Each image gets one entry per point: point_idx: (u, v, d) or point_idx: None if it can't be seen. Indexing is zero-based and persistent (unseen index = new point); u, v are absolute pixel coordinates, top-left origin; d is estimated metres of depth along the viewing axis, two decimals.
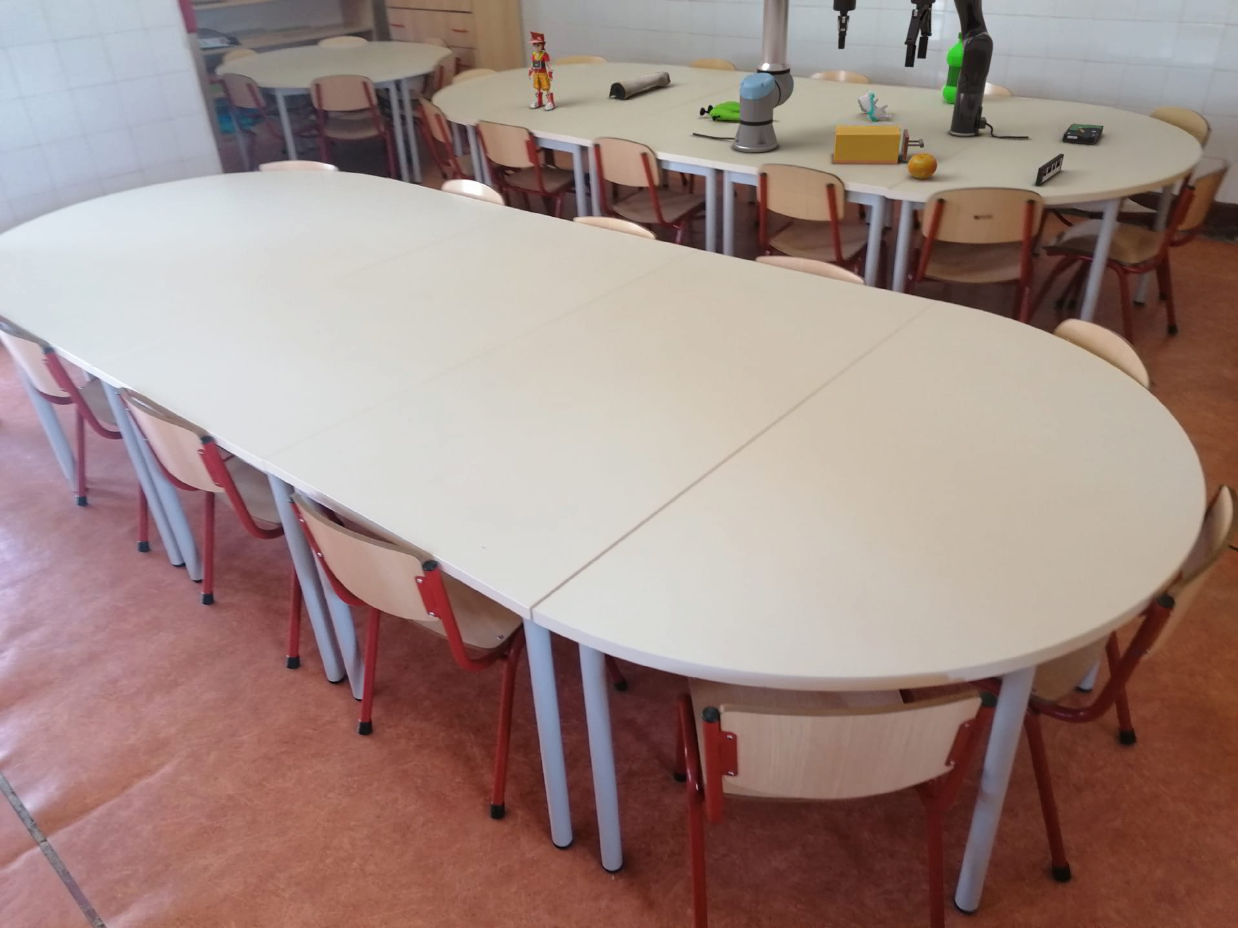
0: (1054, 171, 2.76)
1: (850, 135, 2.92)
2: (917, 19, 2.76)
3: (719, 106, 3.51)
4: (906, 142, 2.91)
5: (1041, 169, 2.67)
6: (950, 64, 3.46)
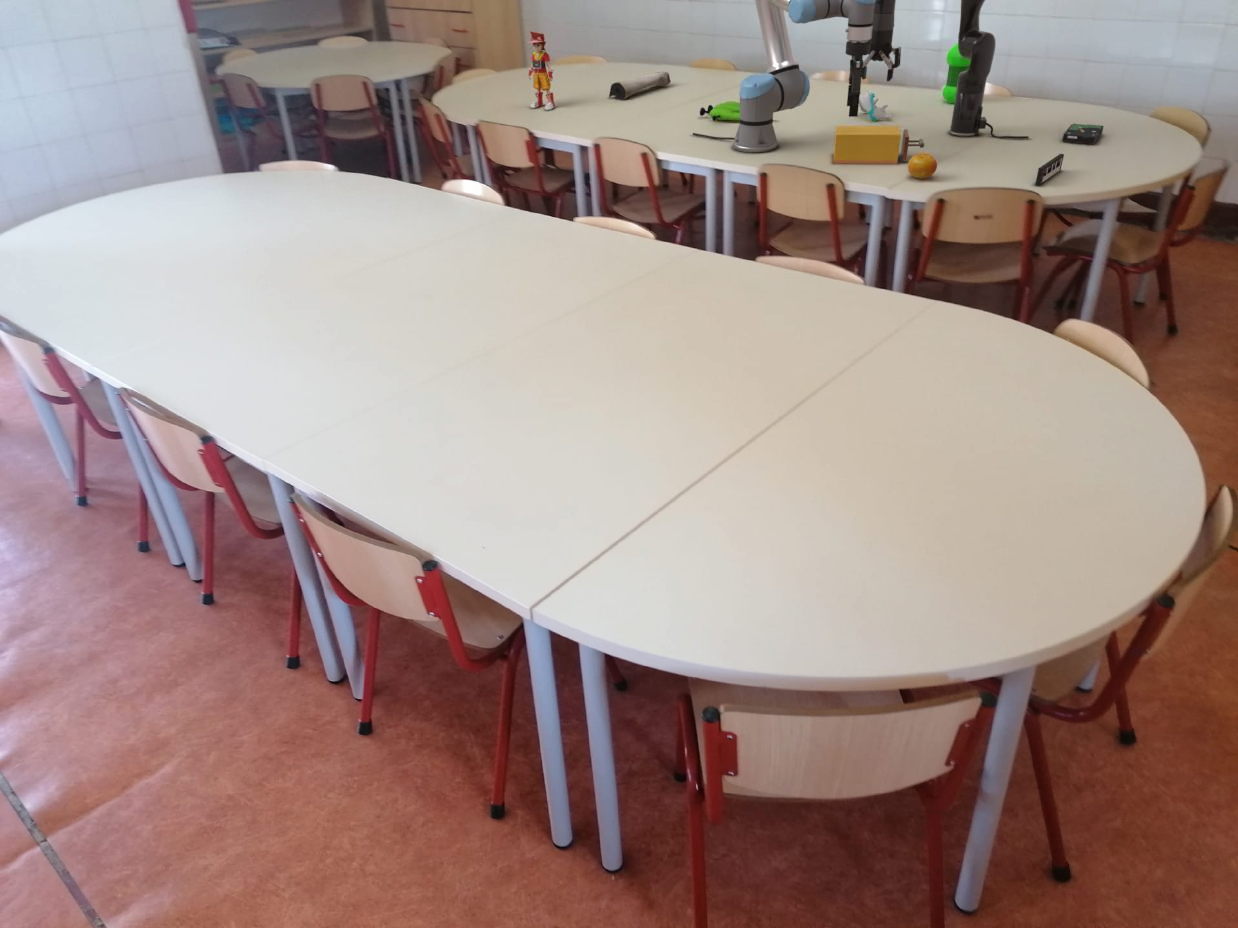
0: (1054, 171, 2.76)
1: (850, 135, 2.92)
2: None
3: (719, 106, 3.51)
4: (906, 142, 2.91)
5: (1041, 169, 2.67)
6: (950, 64, 3.46)
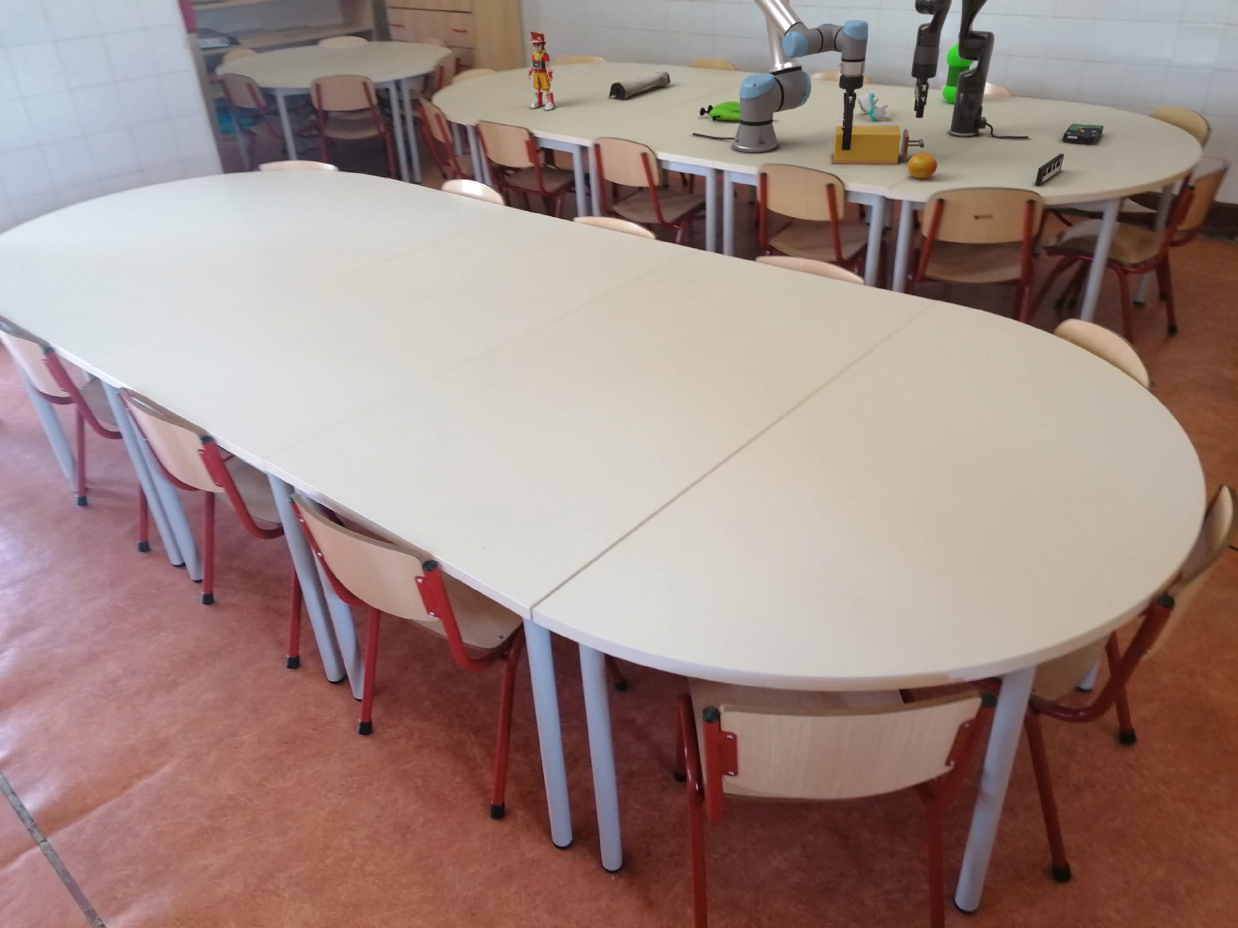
0: (1054, 171, 2.76)
1: None
2: None
3: (719, 106, 3.51)
4: (906, 142, 2.91)
5: (1041, 169, 2.67)
6: (950, 64, 3.46)
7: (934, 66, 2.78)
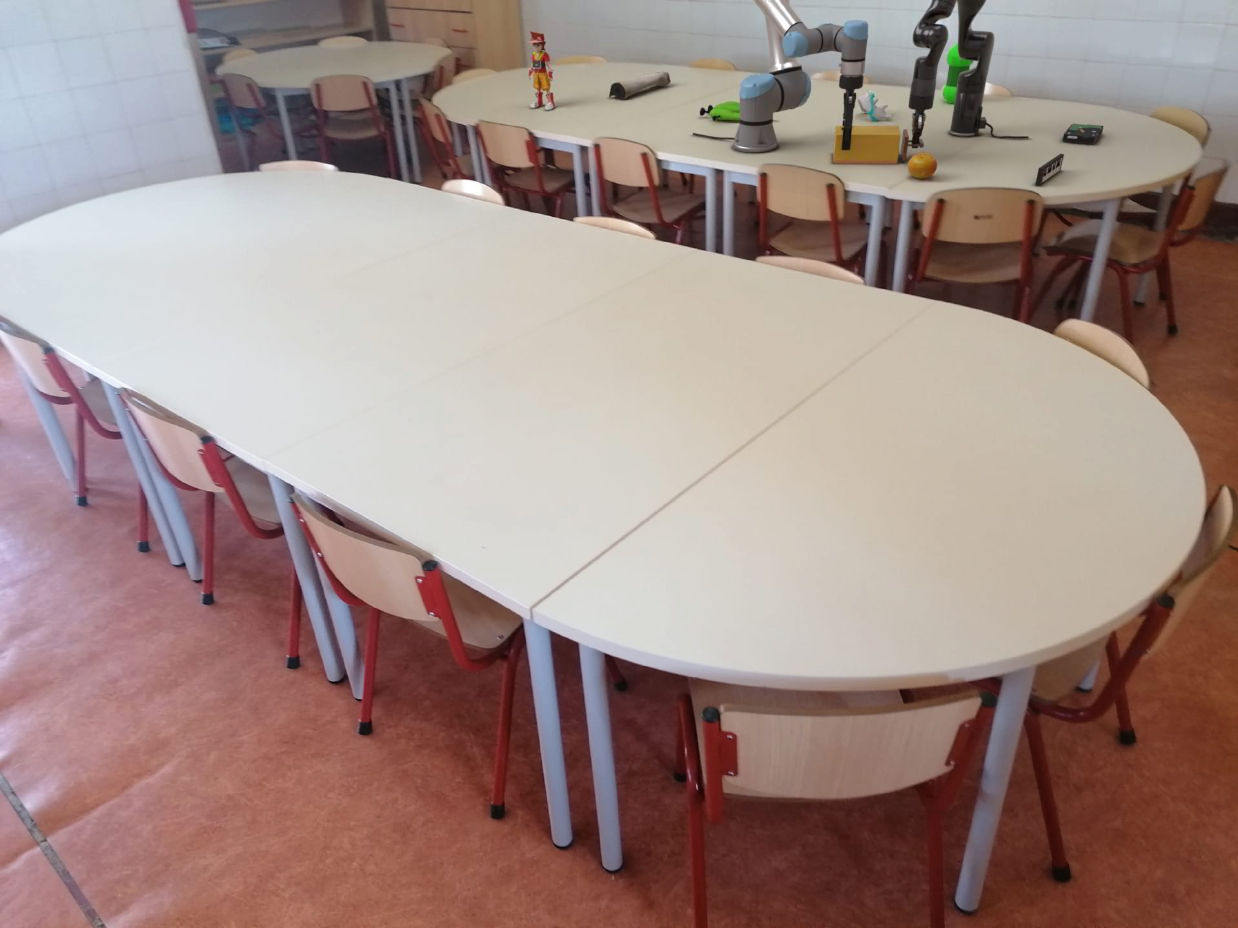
0: (1054, 171, 2.76)
1: None
2: None
3: (719, 106, 3.51)
4: (906, 142, 2.91)
5: (1041, 169, 2.67)
6: (950, 64, 3.46)
7: (931, 98, 2.84)
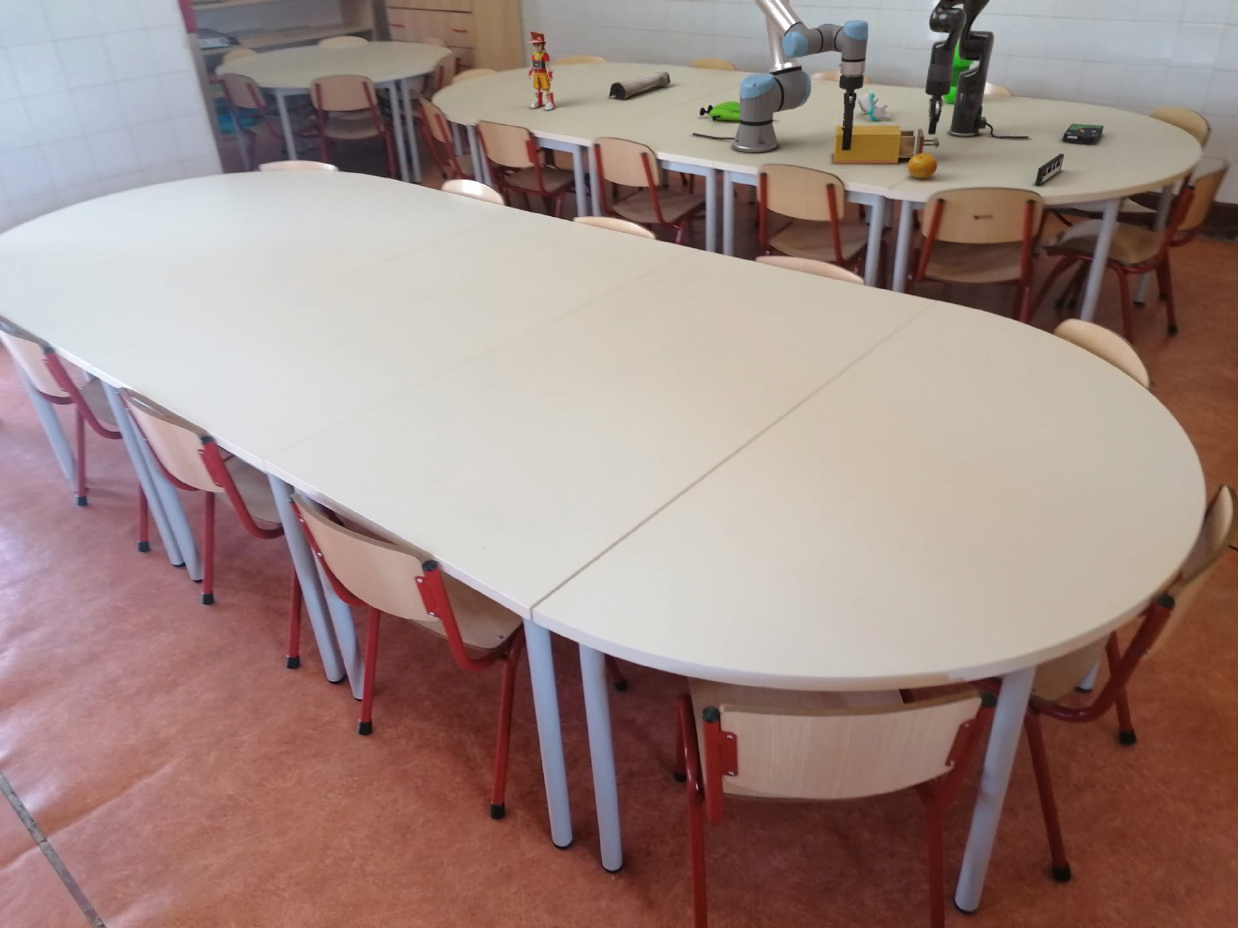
0: (1054, 171, 2.76)
1: None
2: None
3: (719, 106, 3.51)
4: (921, 141, 2.90)
5: (1041, 169, 2.67)
6: None
7: (948, 83, 2.80)
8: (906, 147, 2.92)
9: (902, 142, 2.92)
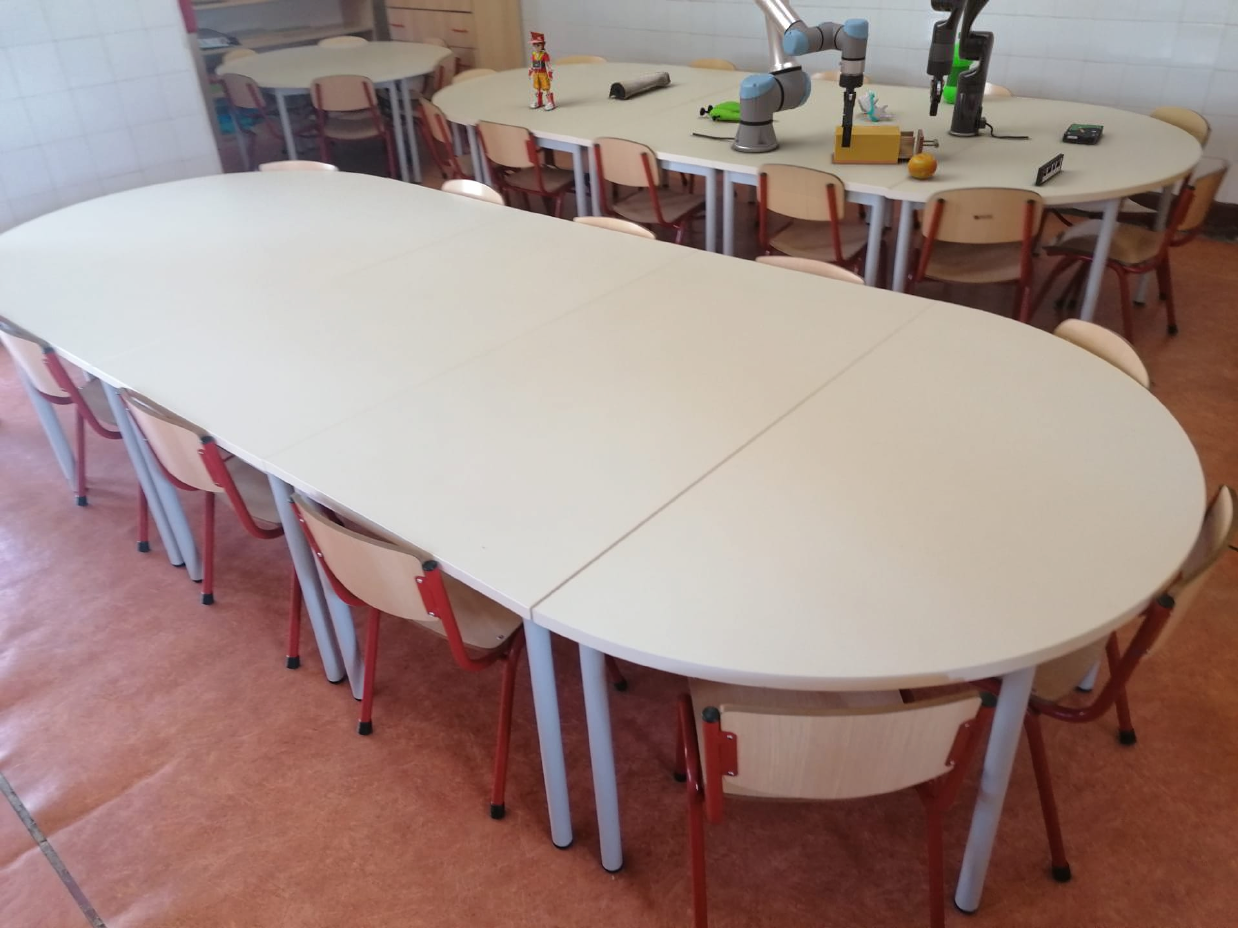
0: (1054, 171, 2.76)
1: None
2: None
3: (719, 106, 3.51)
4: (921, 142, 2.90)
5: (1041, 169, 2.67)
6: None
7: (950, 63, 2.77)
8: (906, 147, 2.92)
9: (902, 142, 2.92)
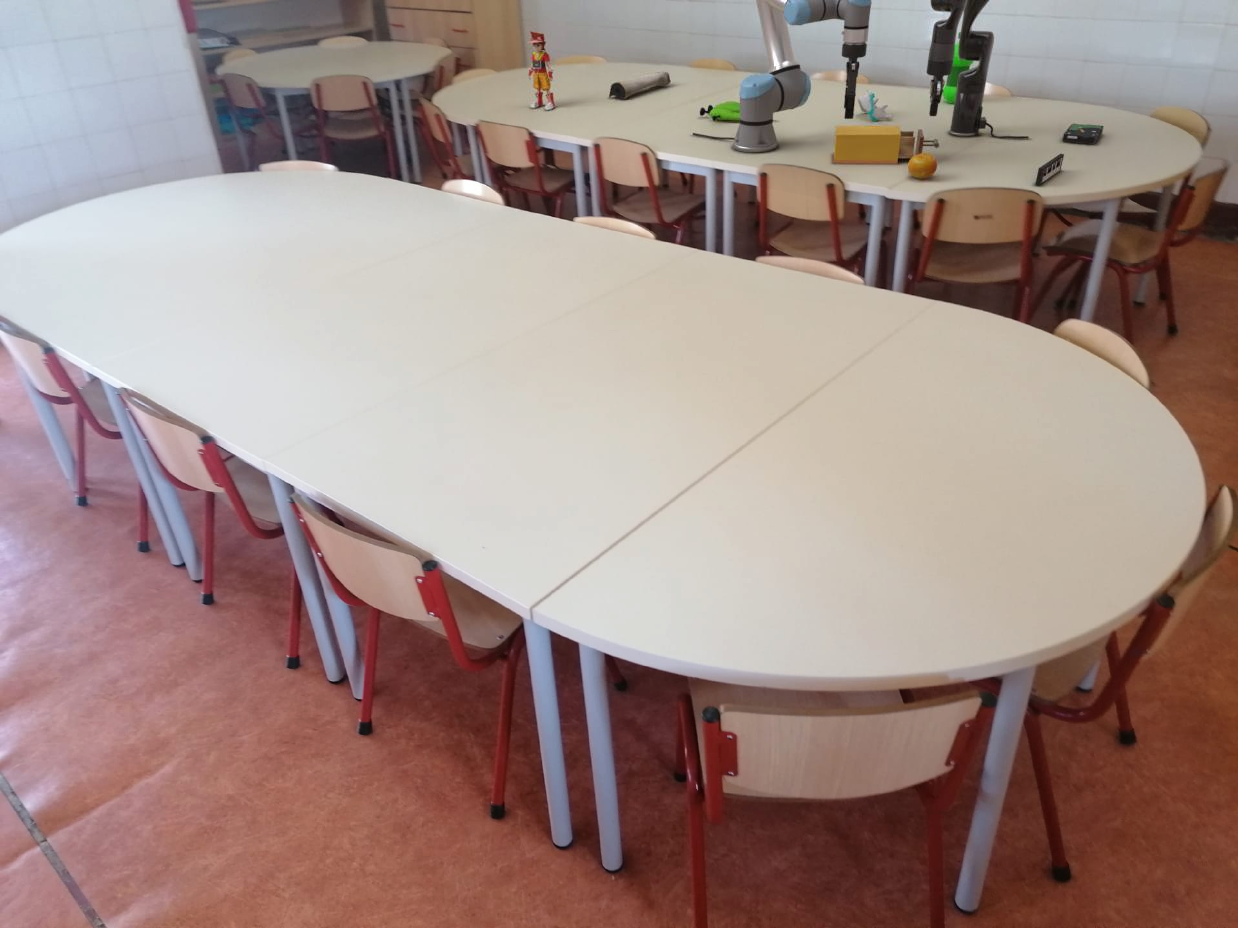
0: (1054, 171, 2.76)
1: (850, 135, 2.92)
2: None
3: (719, 106, 3.51)
4: (921, 142, 2.90)
5: (1041, 169, 2.67)
6: None
7: (950, 63, 2.77)
8: (906, 147, 2.92)
9: (902, 142, 2.92)
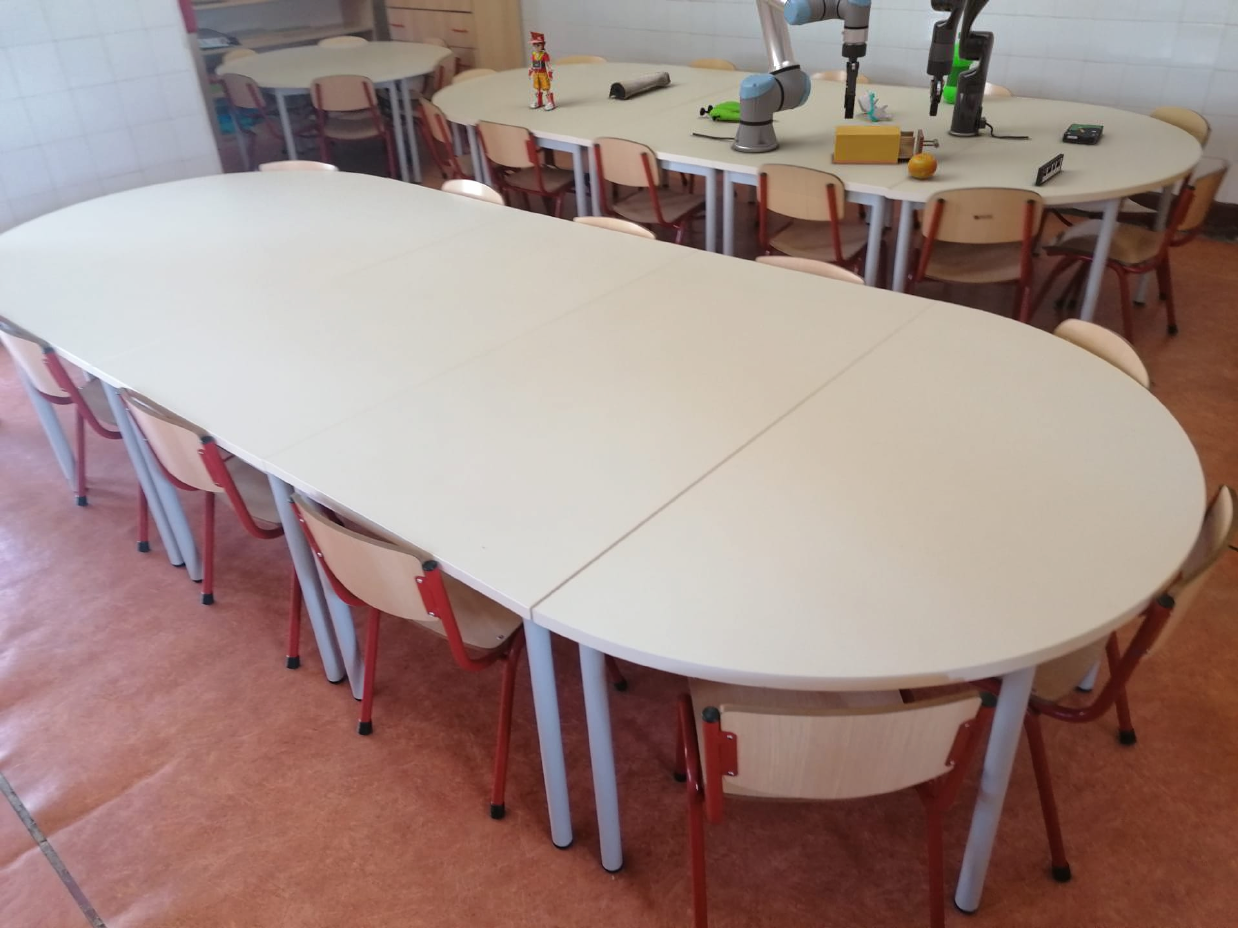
0: (1054, 171, 2.76)
1: (850, 135, 2.92)
2: None
3: (719, 106, 3.51)
4: (921, 142, 2.90)
5: (1041, 169, 2.67)
6: None
7: (950, 63, 2.77)
8: (906, 147, 2.92)
9: (902, 142, 2.92)
